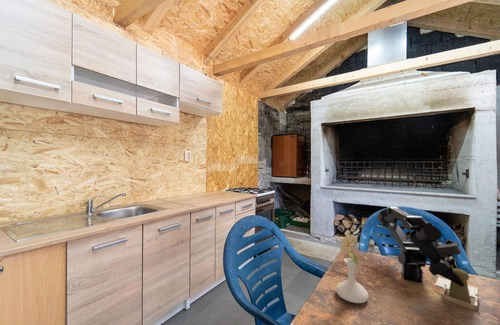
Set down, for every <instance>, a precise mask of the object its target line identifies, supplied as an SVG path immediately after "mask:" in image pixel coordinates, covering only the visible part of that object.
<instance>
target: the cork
mask: <svg viewBox="0 0 500 325" xmlns="http://www.w3.org/2000/svg"><path fill="white" fill-rule="evenodd" d="M453 271H454V272H455V273H456V274H457V276H458V277H459V278H460V279H461V281H462V282H463V283H464V284H465V286H463V287H462V286H460V285H458V284H456V283H454V282H452V281H451V283H450V289H449V290H448V296H449V297H452V298H455V299H458V300H461V301H464V302H467V303H470V304H472V301H471V297H470V295H469V290H468V286H469V284H468V281H469V278H470V277H469V274H468V272H467V271H465V270H464V269H460V268H459V269H457V268H453Z"/></svg>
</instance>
